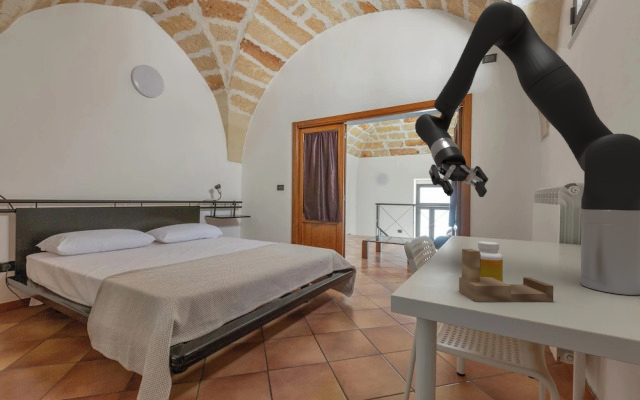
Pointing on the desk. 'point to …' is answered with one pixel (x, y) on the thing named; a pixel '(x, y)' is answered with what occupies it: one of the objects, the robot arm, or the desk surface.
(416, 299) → the desk surface
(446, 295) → the desk surface
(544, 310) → the desk surface
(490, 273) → the supplement bottle
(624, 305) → the desk surface
